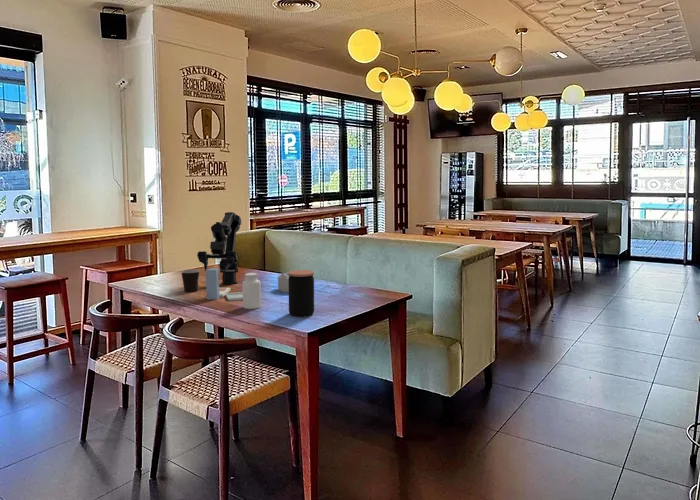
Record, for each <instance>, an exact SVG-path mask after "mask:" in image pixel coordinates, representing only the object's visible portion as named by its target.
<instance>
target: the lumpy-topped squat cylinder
mask: <svg viewBox="0 0 700 500" xmlns="http://www.w3.org/2000/svg"><path fill="white" fill-rule="evenodd" d="M288 272H289V271H287V272H285V273H284V272H283V273H281V274H279V275H278V276H277V287H278V289H277V290H278V291H279V292H281V291H282V293H288V294H289V283H288V278H289V277H290V276H289V274H288Z"/></svg>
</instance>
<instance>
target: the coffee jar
mask: <svg viewBox="0 0 700 500" xmlns="http://www.w3.org/2000/svg"><path fill="white" fill-rule="evenodd" d="M287 272H288V274H289V276H290V277H289V278H288V283H289V293H288V312H289V315H290V316H292V317H295V316H296V317H297V318H304V316H306V317H310V316H309V315H311V316H313V314H314V312H315V277H314V275H315V272H314V271H313V270H310V269H307V270H306V269H297V270H295V269H294V270H290V271H287Z"/></svg>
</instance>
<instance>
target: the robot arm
mask: <svg viewBox="0 0 700 500" xmlns="http://www.w3.org/2000/svg"><path fill="white" fill-rule="evenodd" d="M241 225H242V218H241V217H240V215H238V214H236V212H233V211H232V212H231V211H227V212H225V213H224V216H223V218H222V220H221V221H217V222H215V223H214V224H212V225H211V227H210V230H211V234H212V237H213V239H214V241H210V243H209V244H210V245H209V249H210V253H207V251H205V250H204V251H201V250H200V251H198V252H197V254H196V255H197V256H196V257H197V259H198V262H200V263H201V264H203V267H204V271H205V272H206V269H208V267H209V262H208V261H209V259H216V260H220V261H219V274H220V273H221V274H222V275H221V276H222V277H221V278H222V282H221V284H222V285H227V286H230V285H234V284H239V282H238V281H237V275H236V274H237V273H238V272H239V265H238V260H239V259H238V253H237V251H235V244H236V238H237V233H238V231H239V230H240V228H241V227H240V226H241Z"/></svg>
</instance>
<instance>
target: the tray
mask: <svg viewBox="0 0 700 500" xmlns="http://www.w3.org/2000/svg"><path fill="white" fill-rule="evenodd" d="M224 297H226V300H227V301H228V302H232V301H243V291H241V292H240V291H238V292H237V291H236V292H228V293H225V296H224Z"/></svg>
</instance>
